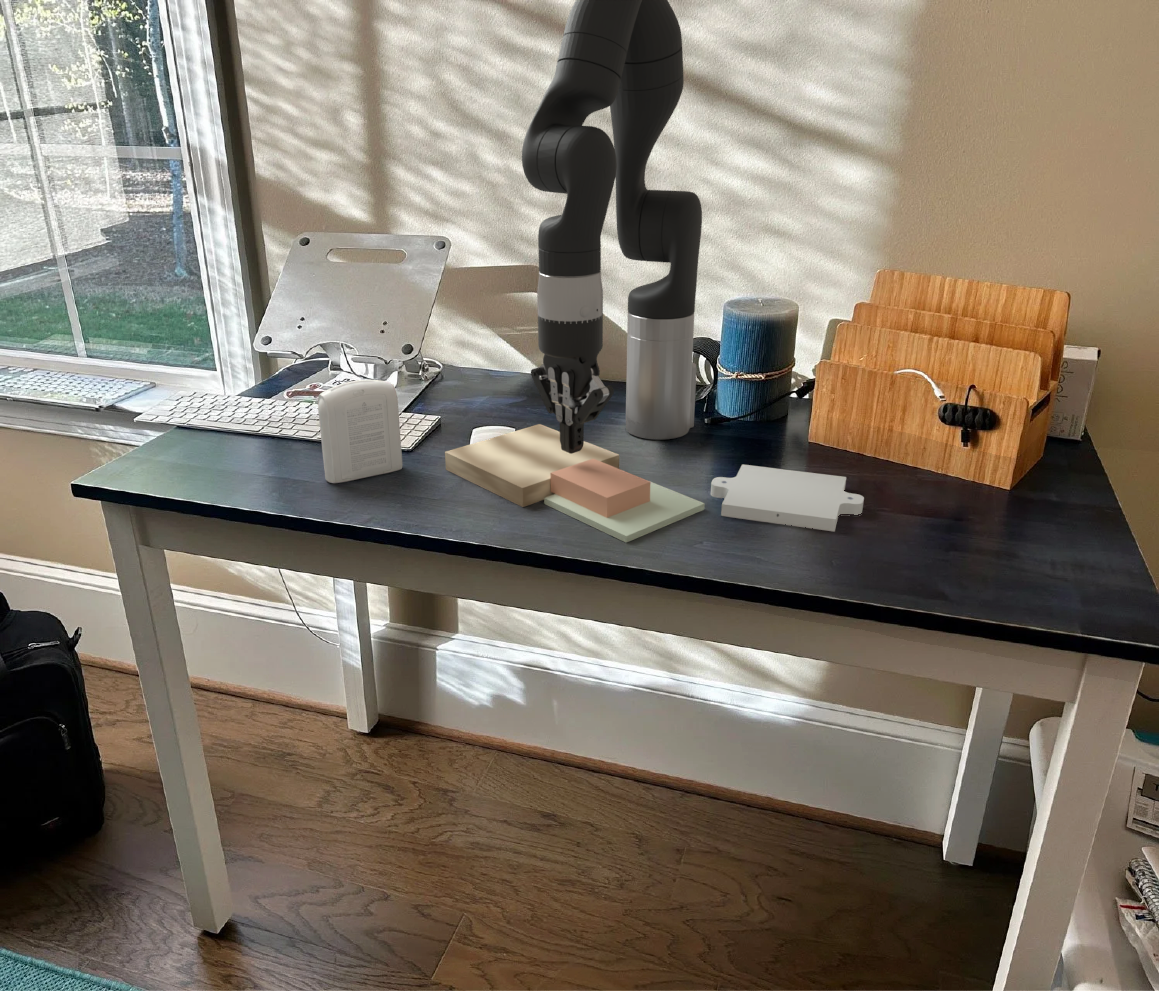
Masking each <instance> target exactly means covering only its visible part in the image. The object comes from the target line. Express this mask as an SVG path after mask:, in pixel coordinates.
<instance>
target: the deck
mask: <svg viewBox="0 0 1159 991" xmlns="http://www.w3.org/2000/svg"><path fill="white" fill-rule="evenodd" d="M487 439H488V440H487ZM487 439H484V440H485V441H483V440H480V441H477V442H473V443H470V444H467V445H464V446H459V447H457V448H456V447H455V448H453V449H451V450H446V451H444V458H445V459H444V460H445V470H446V471H448V472H450V473H452V474H454V475H456V476H458V477H460V478H462V479H464V480H466V481H468V482H470V483H472V484H474V485H475V486H479V487H481V488H483V489H485V490H487V491H488V492H490V493H493V494H494V495H497V496H499V497H501V498H503V499H505V500H507V501H509V502H510V503H511V502H512V503H513V504H515V505H517V506H519V507H522V508H524V507H528V506H531V505H533V504H536V503H539V502H541V501H544V498H545V497H548V496H551V495H554V493H552V492H551V476H550V473H551V472H554V471H557V470H560V469H563V468H566V467H569V466H572V465H575V464H578V463H581V462H584V461H587V460H590V459H596V460H598V461H601V462H603V463H606V464H608V465H611V466H613V467H615V468H618V469H620V454H618V453H616V452H613V451H611V450H609V449H606V448H603V447H601V446H598V445H595V444H593V443H591V442H587V441H585V440H584V445H583V447H582V449H581V450H580V451H578V452H575V453H572V454H570V453H568V452H566V451H563V450H562V449H561V443H560V430H559V431H558V430H556V429H554V428H551V427H548V426H546V425H543V424H541V423H538V424H535V425H532V426H528V427H525V428H522V429H521V428H520V429H518V430H514V431H512V432H508V433H505V434H500V435H497V436H493V437H491V438H487ZM489 439H490V440H489Z"/></svg>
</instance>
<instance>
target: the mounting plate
mask: <svg viewBox="0 0 1159 991" xmlns="http://www.w3.org/2000/svg"><path fill="white" fill-rule="evenodd" d="M846 484H847V476H843V475H842V476H840V475H832V474H824V473H814V472H807V471H799V470H792V469H782V468H775V467H767V466H758V465H751V464H750V465H749V464H741V466H740V468H739V470H738V472H737V474H736V476H734V477H725V476H724V477H723V476H718V477H717V476H716V477H714V478H713V479H712V480H711V482H710V496H711V497H713V498H717V499H722V498H724V500H723V501H722V504H721V513H720V516H722V517H727V518H734V519H735V518H736V519H740V520H742V519H743V520H749V521H756V522H762V523H769V524H777V525H785V524H786V525H785V526H791V525H792V526H791V527H800V528H805V527H806V528H807V529H812V528H813V530H818V531H819V530H820V531H821V530H822V531H829V532H834V533H835V532H836V527H837V522H838V519H839V517H840V516H839V515H840V514H854V515H858V514H861V513H862V514H863V508H864V500H865V497H864V496H863V495H861V494H857V493H851V492H847V491H844V490H846ZM862 514H861V515H862ZM838 516H839V517H838Z"/></svg>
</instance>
